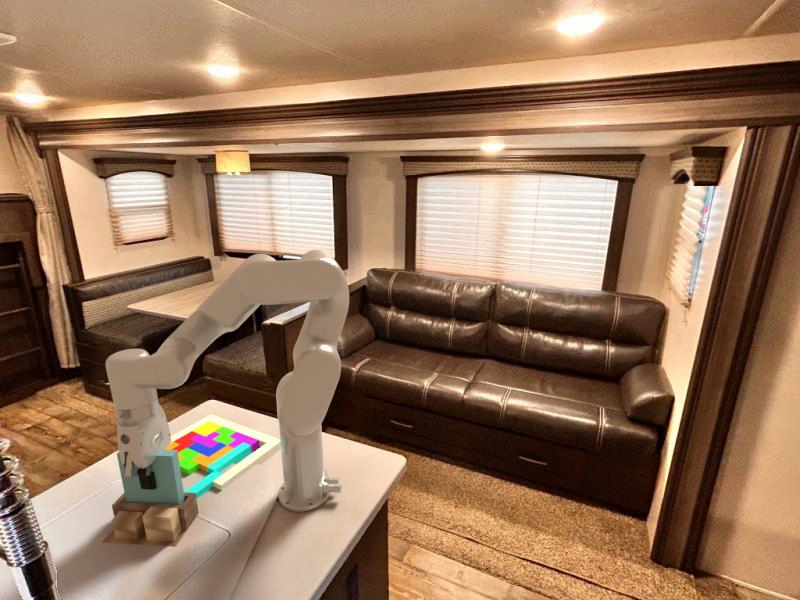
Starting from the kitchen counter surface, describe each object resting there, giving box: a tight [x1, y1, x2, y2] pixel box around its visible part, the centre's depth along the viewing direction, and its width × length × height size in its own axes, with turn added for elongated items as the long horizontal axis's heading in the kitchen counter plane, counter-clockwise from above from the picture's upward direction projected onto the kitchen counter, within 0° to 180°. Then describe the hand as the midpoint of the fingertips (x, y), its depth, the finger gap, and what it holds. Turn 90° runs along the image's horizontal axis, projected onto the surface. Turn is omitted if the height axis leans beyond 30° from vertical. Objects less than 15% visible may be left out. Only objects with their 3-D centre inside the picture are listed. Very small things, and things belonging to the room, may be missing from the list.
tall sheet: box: [116, 450, 185, 505], centre depth 90 cm, size 12×2×16 cm, turn 86°
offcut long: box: [142, 507, 181, 541], centre depth 88 cm, size 6×3×6 cm, turn 86°
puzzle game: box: [165, 414, 281, 500], centre depth 114 cm, size 30×3×30 cm
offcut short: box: [111, 511, 145, 539], centre depth 89 cm, size 5×3×4 cm, turn 86°
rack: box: [101, 492, 199, 547], centre depth 90 cm, size 16×9×6 cm, turn 86°
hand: (152, 483), depth 90 cm, fingers closed on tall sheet, 2 cm apart
